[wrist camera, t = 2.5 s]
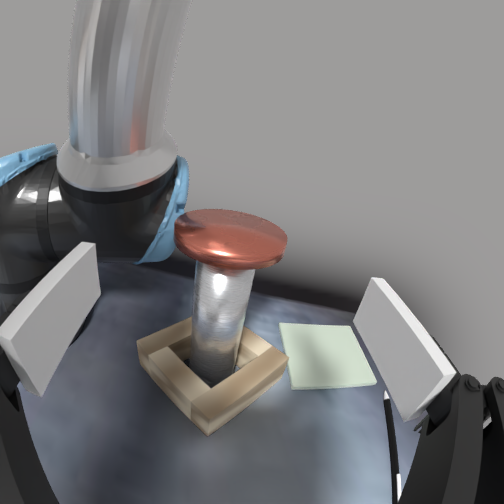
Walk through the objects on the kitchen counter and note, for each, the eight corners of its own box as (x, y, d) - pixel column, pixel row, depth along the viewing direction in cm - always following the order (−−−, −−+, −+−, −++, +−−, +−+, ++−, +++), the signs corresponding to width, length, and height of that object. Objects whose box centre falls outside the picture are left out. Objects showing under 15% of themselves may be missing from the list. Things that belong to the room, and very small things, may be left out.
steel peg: (157, 366, 28) (153, 217, 21) (213, 338, 35) (232, 205, 27) (207, 419, 23) (229, 266, 16) (264, 378, 30) (308, 238, 22)
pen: (390, 522, 12) (396, 519, 12) (380, 392, 29) (384, 387, 29) (397, 520, 12) (403, 518, 12) (386, 392, 29) (390, 387, 29)
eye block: (140, 363, 28) (136, 340, 26) (213, 327, 37) (216, 305, 35) (207, 436, 22) (209, 419, 20) (281, 378, 30) (289, 357, 29)
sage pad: (291, 389, 29) (293, 387, 29) (278, 325, 40) (279, 322, 39) (375, 384, 30) (377, 381, 30) (348, 328, 41) (349, 326, 41)
